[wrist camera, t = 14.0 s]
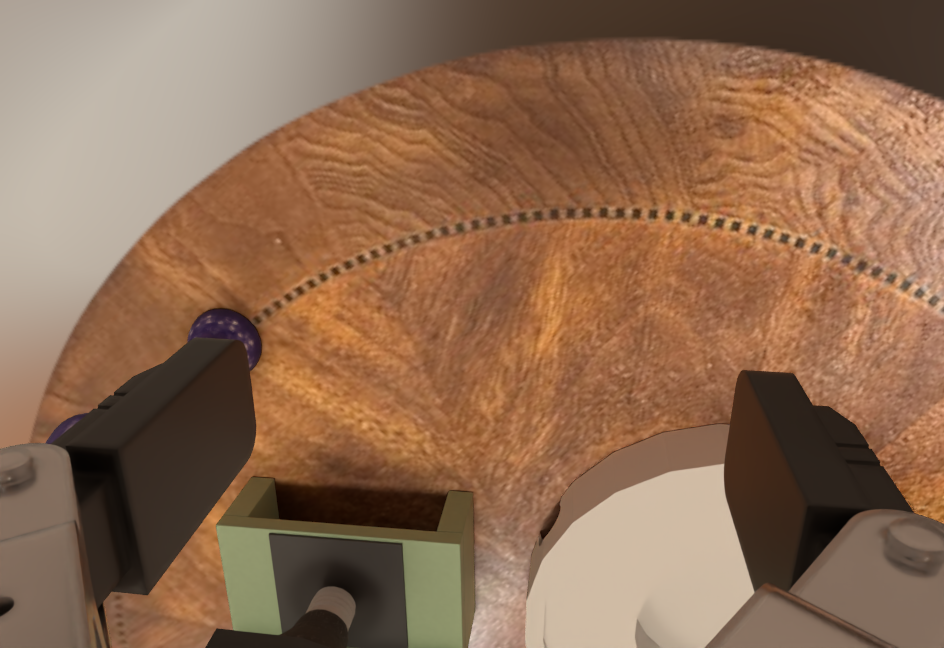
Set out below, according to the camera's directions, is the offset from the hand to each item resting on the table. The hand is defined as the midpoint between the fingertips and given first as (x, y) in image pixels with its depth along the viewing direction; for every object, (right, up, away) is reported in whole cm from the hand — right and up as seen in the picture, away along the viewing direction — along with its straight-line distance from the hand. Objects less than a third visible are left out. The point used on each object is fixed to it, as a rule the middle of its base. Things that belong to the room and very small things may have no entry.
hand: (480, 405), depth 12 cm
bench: (-7, -13, +36) cm, 38 cm away
